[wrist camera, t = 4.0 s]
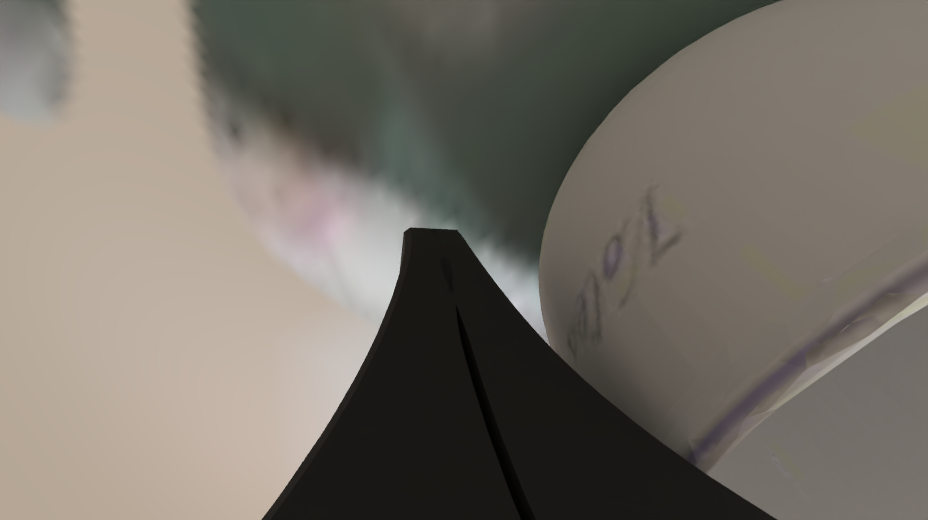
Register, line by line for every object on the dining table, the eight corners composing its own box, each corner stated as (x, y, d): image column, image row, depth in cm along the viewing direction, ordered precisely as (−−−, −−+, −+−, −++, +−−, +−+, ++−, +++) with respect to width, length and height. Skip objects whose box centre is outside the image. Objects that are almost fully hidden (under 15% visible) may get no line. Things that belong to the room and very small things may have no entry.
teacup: (439, 71, 10) (553, 422, 4) (1006, -184, 8) (2740, -318, 2) (577, 406, 19) (677, 671, 12) (862, 308, 17) (1131, 551, 11)
